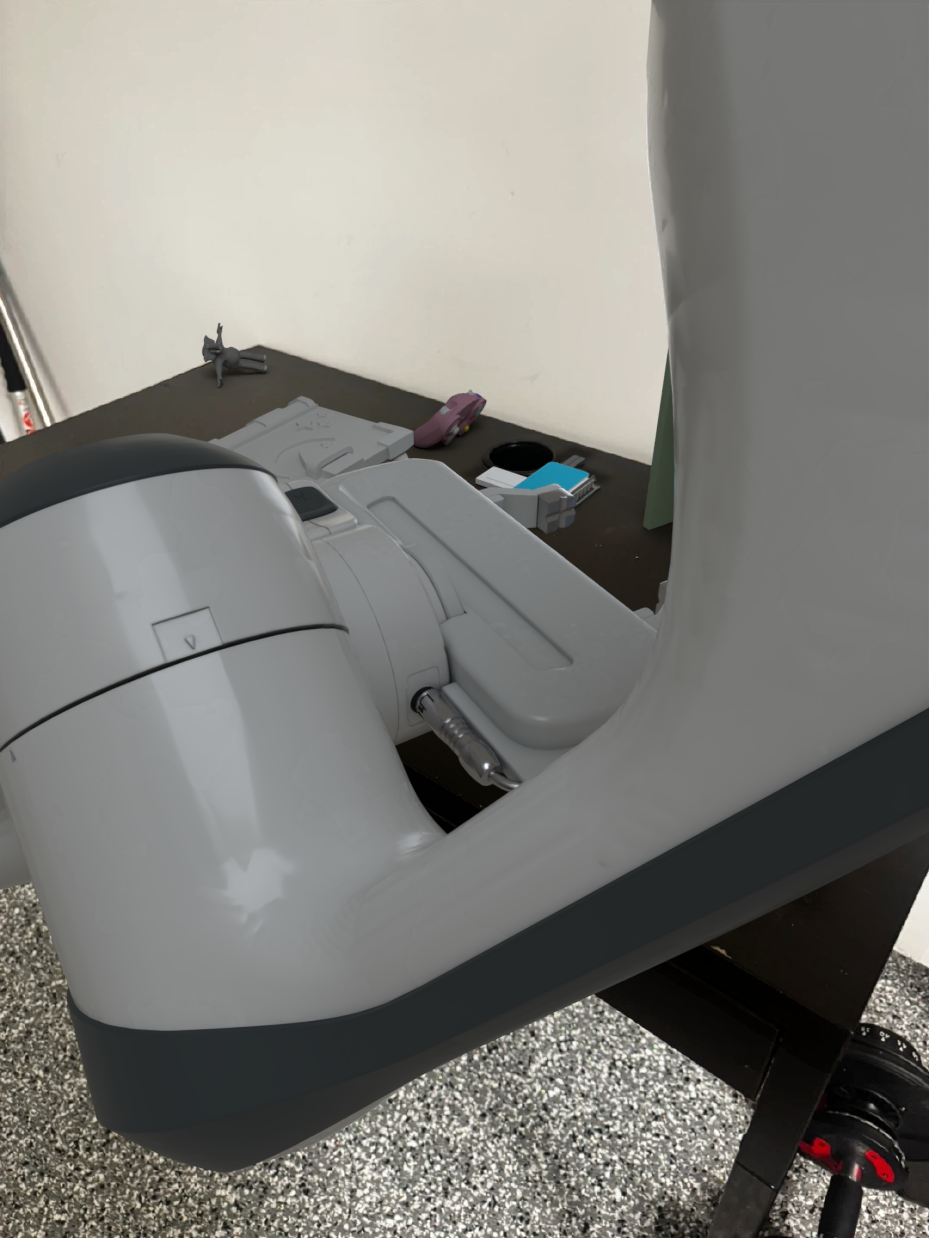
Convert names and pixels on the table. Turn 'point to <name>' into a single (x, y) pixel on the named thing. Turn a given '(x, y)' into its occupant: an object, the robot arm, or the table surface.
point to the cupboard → (662, 462)
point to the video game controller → (450, 419)
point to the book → (316, 442)
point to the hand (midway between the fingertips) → (628, 546)
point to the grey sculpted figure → (229, 356)
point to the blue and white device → (546, 478)
